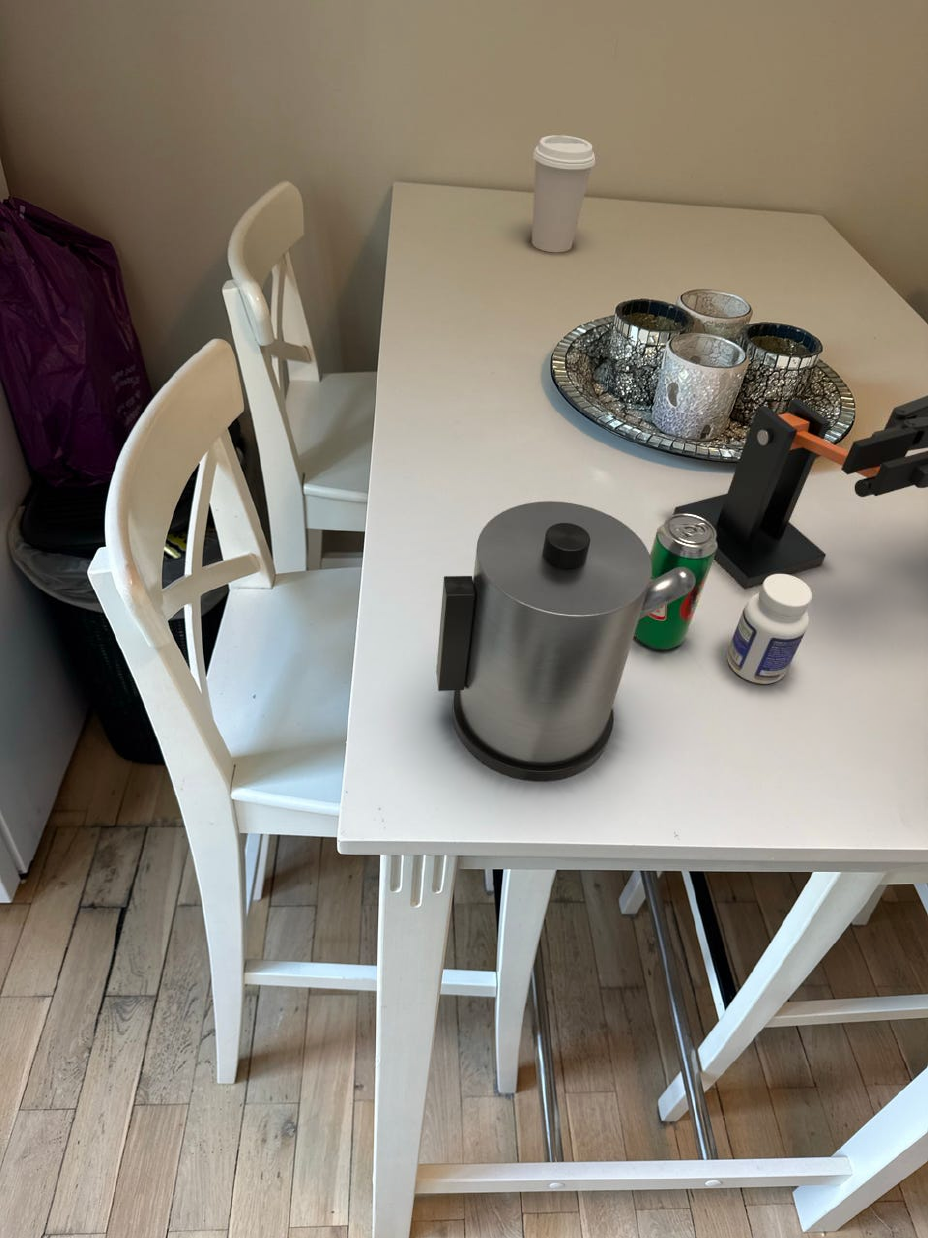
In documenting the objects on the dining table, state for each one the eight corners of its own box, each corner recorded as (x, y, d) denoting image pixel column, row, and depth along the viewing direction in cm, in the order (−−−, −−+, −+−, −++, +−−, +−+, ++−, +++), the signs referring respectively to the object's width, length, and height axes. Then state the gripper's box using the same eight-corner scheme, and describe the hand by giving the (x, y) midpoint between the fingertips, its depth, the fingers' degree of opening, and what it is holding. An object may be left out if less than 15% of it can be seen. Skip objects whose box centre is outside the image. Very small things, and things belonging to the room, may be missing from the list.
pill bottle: (793, 658, 79) (829, 585, 73) (775, 694, 75) (811, 621, 69) (736, 633, 81) (767, 559, 74) (716, 667, 77) (747, 593, 71)
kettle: (630, 654, 78) (683, 478, 65) (669, 775, 68) (741, 600, 55) (428, 659, 75) (440, 478, 62) (441, 786, 66) (459, 605, 53)
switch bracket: (821, 564, 89) (881, 439, 78) (744, 588, 85) (796, 460, 75) (746, 496, 96) (791, 374, 86) (672, 516, 93) (710, 391, 82)
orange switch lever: (925, 487, 74) (933, 461, 73) (864, 505, 71) (871, 478, 70) (802, 431, 85) (807, 407, 83) (745, 445, 82) (749, 420, 81)
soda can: (619, 618, 81) (648, 514, 72) (668, 609, 82) (702, 506, 74) (643, 657, 77) (676, 553, 69) (694, 647, 79) (733, 544, 70)
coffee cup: (582, 237, 146) (599, 138, 135) (579, 259, 139) (596, 157, 128) (525, 229, 146) (537, 130, 136) (519, 251, 139) (531, 149, 129)
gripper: (1108, 499, 77) (917, 563, 68) (967, 408, 86) (784, 455, 78) (1162, 425, 72) (962, 485, 63) (1006, 337, 81) (814, 379, 73)
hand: (864, 468), depth 70 cm, fingers closed on orange switch lever, 2 cm apart
